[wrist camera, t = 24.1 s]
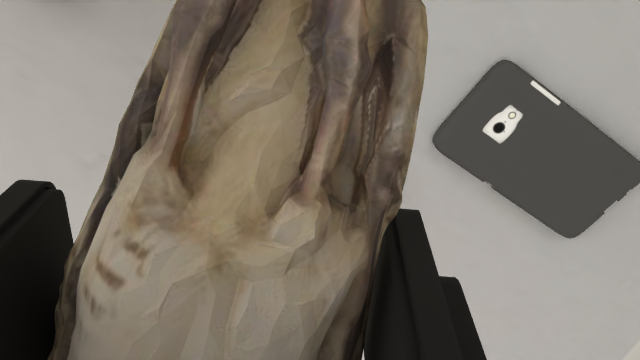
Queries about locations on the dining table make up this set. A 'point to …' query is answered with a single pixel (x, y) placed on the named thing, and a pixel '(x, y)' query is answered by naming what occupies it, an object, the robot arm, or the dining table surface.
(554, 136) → the cell phone
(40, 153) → the dining table surface
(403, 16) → the bird model
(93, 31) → the dining table surface
